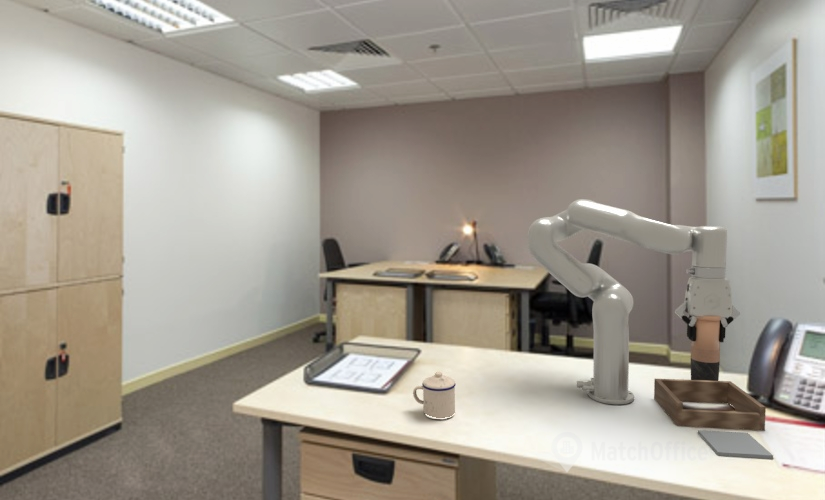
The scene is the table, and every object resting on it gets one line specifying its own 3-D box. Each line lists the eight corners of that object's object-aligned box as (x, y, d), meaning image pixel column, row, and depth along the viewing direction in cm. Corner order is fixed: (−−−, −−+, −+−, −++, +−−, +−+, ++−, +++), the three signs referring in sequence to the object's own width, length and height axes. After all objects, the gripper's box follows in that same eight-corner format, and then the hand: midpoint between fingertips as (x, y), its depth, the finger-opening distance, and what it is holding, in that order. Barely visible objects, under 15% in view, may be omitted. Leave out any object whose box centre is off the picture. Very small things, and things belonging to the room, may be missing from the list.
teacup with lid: (459, 409, 134) (458, 368, 134) (451, 423, 126) (450, 379, 125) (419, 404, 138) (418, 365, 138) (408, 417, 130) (407, 375, 129)
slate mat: (718, 455, 106) (718, 452, 106) (697, 433, 117) (697, 429, 117) (773, 459, 105) (773, 455, 104) (747, 435, 115) (747, 432, 115)
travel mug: (723, 391, 143) (725, 325, 142) (695, 390, 145) (696, 325, 143) (712, 382, 151) (714, 320, 149) (686, 381, 152) (687, 319, 151)
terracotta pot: (696, 350, 124) (698, 315, 124) (686, 342, 131) (687, 310, 130) (725, 351, 123) (726, 316, 122) (713, 343, 130) (715, 311, 129)
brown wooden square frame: (677, 426, 121) (677, 403, 121) (654, 398, 139) (654, 378, 139) (764, 430, 118) (765, 406, 117) (729, 401, 136) (730, 381, 135)
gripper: (678, 274, 123) (675, 343, 125) (752, 275, 120) (748, 345, 122) (667, 271, 131) (665, 335, 132) (737, 271, 128) (734, 338, 129)
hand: (705, 339), depth 127 cm, fingers closed on terracotta pot, 6 cm apart
